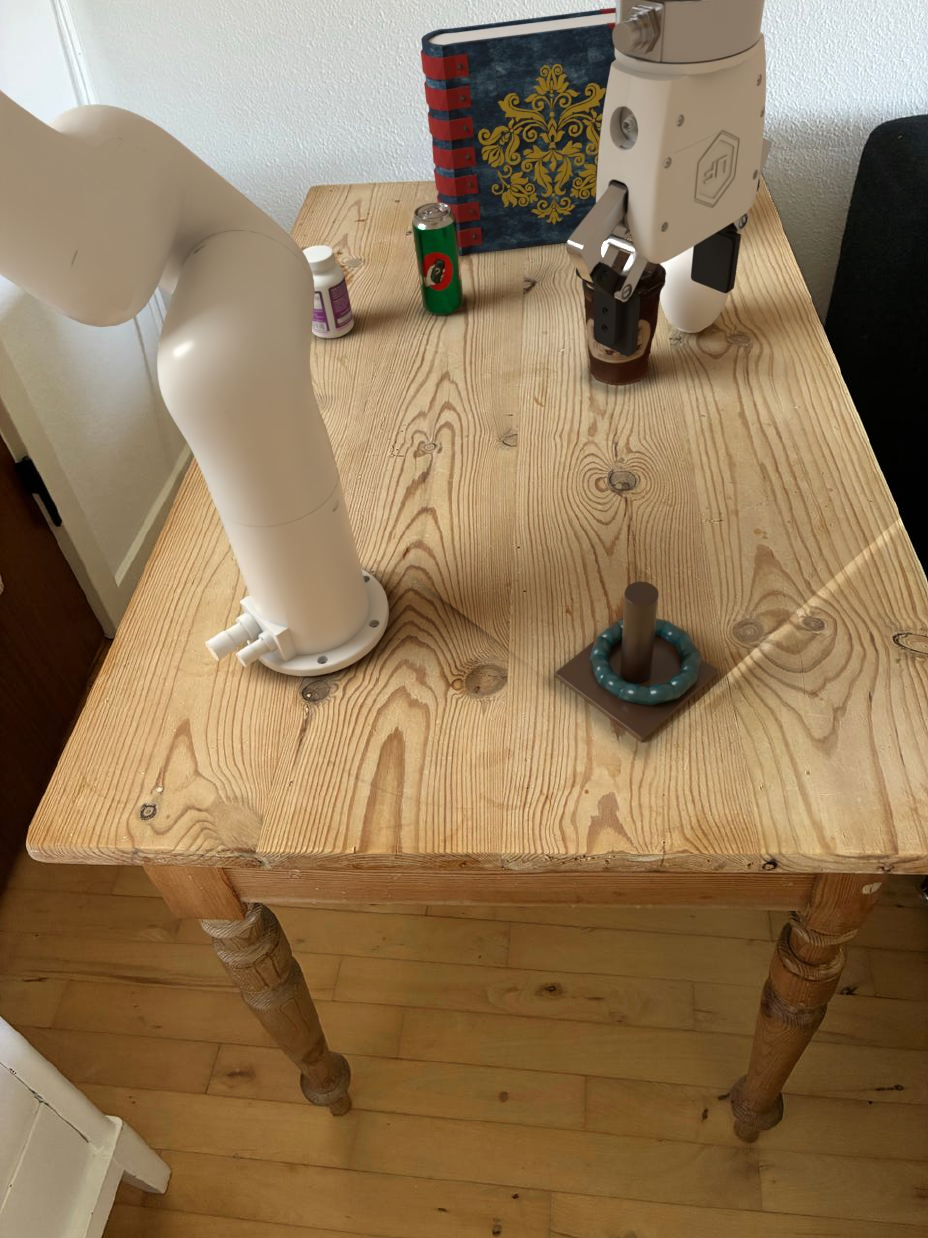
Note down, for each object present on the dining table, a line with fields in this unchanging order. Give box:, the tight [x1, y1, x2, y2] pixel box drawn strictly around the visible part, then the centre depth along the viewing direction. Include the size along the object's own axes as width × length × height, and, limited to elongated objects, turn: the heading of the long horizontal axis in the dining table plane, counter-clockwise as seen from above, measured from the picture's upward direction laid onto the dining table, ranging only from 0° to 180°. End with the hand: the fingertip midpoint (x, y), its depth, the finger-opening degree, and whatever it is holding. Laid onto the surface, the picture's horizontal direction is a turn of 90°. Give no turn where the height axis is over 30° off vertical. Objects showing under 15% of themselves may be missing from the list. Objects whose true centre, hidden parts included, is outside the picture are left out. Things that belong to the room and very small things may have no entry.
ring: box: [590, 617, 702, 705], centre depth 74 cm, size 8×8×1 cm
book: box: [420, 7, 616, 257], centre depth 116 cm, size 25×7×25 cm, turn 94°
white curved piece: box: [659, 246, 730, 334], centre depth 101 cm, size 8×8×18 cm
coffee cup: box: [581, 251, 666, 387], centre depth 98 cm, size 9×8×13 cm
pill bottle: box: [302, 244, 355, 339], centre depth 111 cm, size 5×5×10 cm
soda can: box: [411, 201, 465, 317], centre depth 111 cm, size 5×5×12 cm
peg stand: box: [554, 581, 719, 743], centre depth 71 cm, size 9×9×10 cm
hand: (664, 315), depth 62 cm, fingers open, 9 cm apart
